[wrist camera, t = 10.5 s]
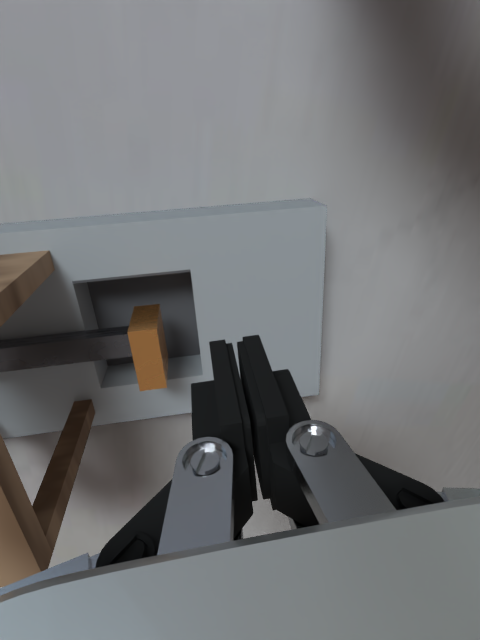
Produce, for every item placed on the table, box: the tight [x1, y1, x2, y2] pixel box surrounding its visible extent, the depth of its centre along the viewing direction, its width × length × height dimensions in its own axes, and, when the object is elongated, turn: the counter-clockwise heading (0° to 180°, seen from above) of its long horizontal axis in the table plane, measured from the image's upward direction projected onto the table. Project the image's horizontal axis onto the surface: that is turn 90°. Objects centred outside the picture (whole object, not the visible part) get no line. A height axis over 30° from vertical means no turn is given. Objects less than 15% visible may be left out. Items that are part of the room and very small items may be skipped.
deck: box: [0, 198, 327, 439], centre depth 32 cm, size 45×18×4 cm, turn 93°
